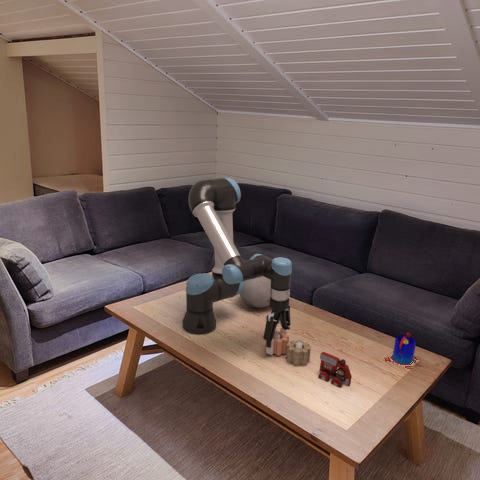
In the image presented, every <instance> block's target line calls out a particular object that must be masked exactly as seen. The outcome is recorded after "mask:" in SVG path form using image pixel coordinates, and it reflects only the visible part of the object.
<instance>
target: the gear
mask: <svg viewBox="0 0 480 480" xmlns="http://www.w3.org/2000/svg"><path fill="white" fill-rule="evenodd" d="M297 342H301V343H302V349H296V343H297ZM311 347H312V346H310V343H309V342H304V341H303V340H300V339H298V340H296V341H295V340H294V339H293V340H289V343H288V344H287V352H286V354H285V359H286V361H287V363H288V364H292V365H293V366H295V367H299V366H302V367H305V366H307V365H308V363H310V359H311V350H312V349H311Z"/></svg>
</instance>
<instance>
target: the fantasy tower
mask: <svg viewBox="0 0 480 480" xmlns="http://www.w3.org/2000/svg"><path fill="white" fill-rule="evenodd" d="M416 344H417V341H416V339H415V338H414V337H413V336H412V334H411V333H409V332H407V333H406V334H398V335H397V336H395V340H394V347H393V350H394V351H393V350H392V354H393V355H392V354H391V355H392V356H391V355H390V356H391V357H390V356H387V357H384V358H383V360H384V359H385V360H384V361H385V362H386V361H389V362H391V363H392V361H391V360H390V358H391V359H392V360H393V362H395V363H397V364H400V365H411V364H412V363H413V362H414V361H415V360H414V359H413V358H415V359H416V360H418V358H419V357H417V356H416V357H415V355H414V354H415V351H416ZM389 357H390V358H389ZM412 361H413V362H412ZM389 362H388V363H389ZM411 362H412V363H411ZM410 363H411V364H410ZM405 368H407V369H411V366H405Z"/></svg>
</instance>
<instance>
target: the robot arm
mask: <svg viewBox="0 0 480 480" xmlns="http://www.w3.org/2000/svg"><path fill="white" fill-rule="evenodd" d="M241 194H242V193H241V189H240V186H239V183H237V181H236V180H234V179H233V178H230V177H219V178H211V179H201V180H199V181H197V182H195V183H194V184H193V185H192V187H191V188H190V189H189V193H188V206H189V209H190V212H191V214H192V215H193V217H196V218H197V219H198V221H199V223H200V225H201V226H202V228H203V230H204V232H205V234H206V235H207V237H208V239H209V242H210V243H211V245H212V247H213V249H214V267H213V268H212V269H211V274H210V273H205V272H204V273H203V272H202V273H196V274H193V275H191V276H190V277H189V278H188V279H187V281H186V286H185V291H186V292H185V293H186V294H185V297H186V298H185V301H186V305H185V307H186V309H185V310H186V311H185V313H184V317H183V319H182V324H181V325H182V329H183V330H184V331H185V332H187V333H188V334H192V335H207V334H209V333H211V332H214V331H215V330H216V328H217V319H216V317H215V313H214V309H213V308H214V303H215V302H217V303H218V302H220V301H223V300H226V299H232V298H234V297H236V296H238V295H239V294H240V293H241V291H242V289H243V285H244V281H246V280H250V279H254V278H258V277H262V276H264V277H266V278H268V279H270V280H271V288H270V304H269V305H268V306H269V308H271V312H270V315H269V314H267V315H266V321H265V326H264V333H263V338H262V339H263V341H264V340H265V342H266V341H267V343H266V350H265V354H267V355H270V356H273V355H274V354H273V344H274V340H273V336H274V333H275V331H276V329H277V326H278V325H279V324H280V327H281V328H280V329H279V332H282V331H283V332H285V334H286V335H288V331H289V330H290V329H291V327H290V326H291V324H292V323H291V312H290V311H291V305H290V295H291V292H290V291H291V282H292V281H291V280H292V272H293V266H292V265H293V264H292V261H291V260H290V259H289V258H287V257H280V256H279V257H275V258H270V257H268V256H266V255H264V254H262V253H255V254H253V256H251V257H250V259H245V260H244V259H243V258H242V256H241V253H239V251H238V248H237V247H236V245H235V243H234V229H233V228H234V227H233V226H234V225H233V224H234V223H233V213H234V212H235V210H236V208H237V207H236V204H238V203H239V202H240V200H241V197H242V195H241Z"/></svg>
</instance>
